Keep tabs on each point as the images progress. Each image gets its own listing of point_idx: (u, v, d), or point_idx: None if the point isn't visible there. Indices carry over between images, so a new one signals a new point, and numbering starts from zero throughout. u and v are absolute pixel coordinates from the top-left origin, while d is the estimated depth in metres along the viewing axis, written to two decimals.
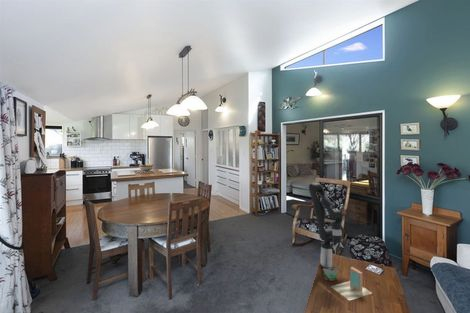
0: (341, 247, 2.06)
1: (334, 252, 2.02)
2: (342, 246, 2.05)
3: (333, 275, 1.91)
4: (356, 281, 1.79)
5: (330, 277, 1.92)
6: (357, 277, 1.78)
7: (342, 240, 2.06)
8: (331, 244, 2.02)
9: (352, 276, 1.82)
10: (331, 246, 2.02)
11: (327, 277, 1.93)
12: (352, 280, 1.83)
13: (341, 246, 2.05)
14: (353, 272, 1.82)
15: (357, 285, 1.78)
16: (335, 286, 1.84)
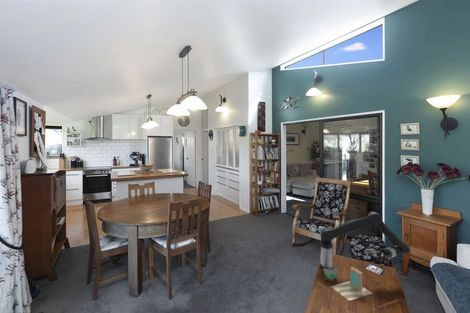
0: (372, 254, 1.91)
1: None
2: (373, 255, 1.92)
3: (333, 275, 1.91)
4: (356, 281, 1.79)
5: (330, 277, 1.92)
6: (357, 277, 1.78)
7: None
8: (388, 259, 1.83)
9: (352, 276, 1.82)
10: (387, 259, 1.82)
11: (327, 277, 1.93)
12: (352, 280, 1.83)
13: (374, 255, 1.91)
14: (353, 272, 1.82)
15: (357, 285, 1.78)
16: (335, 286, 1.84)
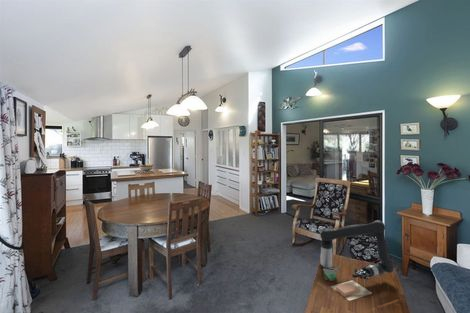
0: None
1: (355, 277, 1.80)
2: None
3: (333, 275, 1.91)
4: None
5: (330, 277, 1.92)
6: None
7: None
8: (366, 278, 1.78)
9: None
10: (364, 278, 1.78)
11: (327, 277, 1.93)
12: None
13: None
14: None
15: None
16: (335, 286, 1.84)
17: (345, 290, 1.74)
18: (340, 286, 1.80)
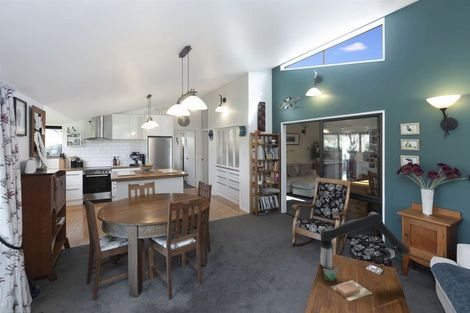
0: None
1: (373, 258, 1.86)
2: None
3: (333, 275, 1.91)
4: None
5: (330, 277, 1.92)
6: None
7: None
8: (384, 259, 1.83)
9: None
10: (381, 259, 1.84)
11: (327, 277, 1.93)
12: None
13: None
14: None
15: None
16: (335, 286, 1.84)
17: (345, 290, 1.74)
18: (340, 286, 1.80)
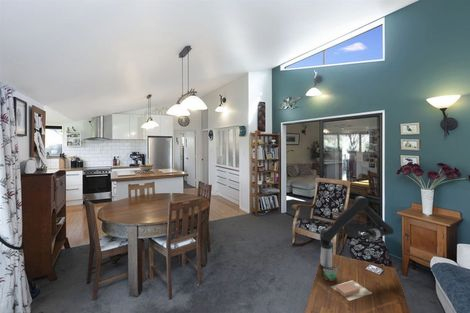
0: None
1: None
2: None
3: (333, 275, 1.91)
4: None
5: (330, 277, 1.92)
6: None
7: (360, 233, 2.04)
8: (369, 238, 1.94)
9: None
10: (367, 238, 1.94)
11: (327, 277, 1.93)
12: None
13: None
14: None
15: None
16: (335, 286, 1.84)
17: (345, 290, 1.74)
18: (340, 286, 1.80)
